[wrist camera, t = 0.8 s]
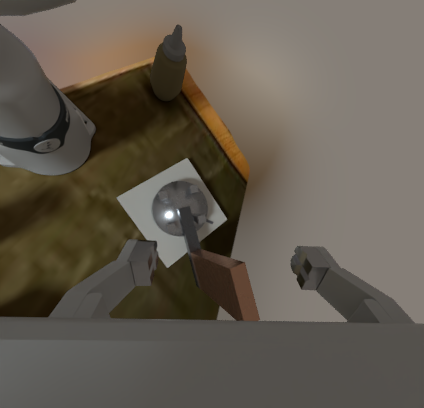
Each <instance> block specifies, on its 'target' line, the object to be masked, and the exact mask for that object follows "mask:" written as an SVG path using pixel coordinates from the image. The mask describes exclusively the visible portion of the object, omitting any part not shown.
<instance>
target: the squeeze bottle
mask: <svg viewBox="0 0 424 408" xmlns="http://www.w3.org/2000/svg"><path fill="white" fill-rule="evenodd" d="M185 52H186V47H185V45H184V43H183V42H182V27H181V26H180V25H176V27H175V29H174V32H173V34H172V35H167V36H166V37H165V38H164V41H163V43H162V44H160V45H159V47H158V49H157V52H156V56H155V59H154V63H153V67H152V70H151V74H150V82H151V85H152V88H153V91H154V93H155V95H156V96H157V97H158V98H159V99H161V100H162V101H171V100H172V99H173V98H175V97H176V96H177V95H178V94H179V93H180V91H181V88H182V83H183V78H184V74H185V69H186V64H187V59H186V56H185Z"/></svg>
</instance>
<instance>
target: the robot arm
mask: <svg viewBox="0 0 424 408" xmlns="http://www.w3.org/2000/svg"><path fill="white" fill-rule="evenodd" d="M75 1H76V0H0V16H25V15H29V14H33V13H38V12H42V11H46V10H50V9H54V8H57V7H60V6H63V5H67V4H70V3H73V2H75ZM85 122H87V124H85ZM95 131H96V127H95V125H94V124H93V123H92V122H91V121H90V120H89V119H88V118H87V117H86V116H85V115H84V114H83V113H82V112H81V111H80V110H79V109H78V108H77V107H76V106H75V105H74V104H73V103H72V102H71V101H70V100H69V99H68V98H67V97H66V96H65V95H64V94H63V93H62V92H61V91H60V90H59V89H58V88H57V87H56V86H55V85H54V84H53V83H52V82H51V81H50V80H49V79H48V78H47V77H46V75H45V73H44V72H43V70H42V68H41V66H40V64H39V63H38V61H37V59H36V57H35V56H34V54H33V53H32V52H31V50H30V49H29V48H28V47H27V46H26V45H25V44H24V43H23V42H22V41H21V40H20V39H19V38H17V37H16V36H15V35H14V34H13V33H11V32H10V31H9V30H8V29H6V28H5V27H4V26H2V25H1V24H0V165H2V166H6V167H20V168H23V169H26V170H29V171H32V172H34V173H38V174H43V175H60V174H65V173H68V172H71V171H73V170H75V169H77V168H78V167H80V166H81V165H82V164H83V163H84V162H85V161H86V159H87V158H88V156H89V153H90V149H91V138H92V137H93V135H94V133H95ZM156 249H157V241H152V240H133V239H129V240H128V241H127V242H126V244H125V246H124V248H123V250H122V251H121V253H120V255H119V257H118V259H117V260H116V261H113V262H111V263H109V264H108V265H106V266H105V267H103V268H102V269H100V270H99V271H97V272H96V273H94V274H93V275H91V276H90V277H88V278H87V279H85V280H83V281H82V282H80V283H79V284H77V285H76V286H74V287H73V288H71V289H70V290H68V291H67V292H66V293H65V295H64V296H63V298H62V299H61V300H60V302H59V303H58V304H57V306H56V307H55V309H54V310H53V311H52V313H51V314H50V316H49V317H0V408H424V324H415V323H414V322H413V321H412V320H411V318H410V317H409V316H408V315H407V314H406V313H405V312H404V311H403V310H402V308H401V307H400V306H399V305H398V304H397V303H396V302H395V301H394V300H393V299H392V298H390V297H389V296H387V295H385V294H384V293H382V292H380V291H379V290H377V289H376V288H374V287H373V286H371V285H369V284H368V283H366V282H364V281H363V280H361V279H360V278H358V277H357V276H355V275H353V274H352V273H350V272H348V271H347V270H345V269H343V268H342V269H341V268H340V267H339V265H338V264H337V263H336V261H335V260H334V259H333V257H332V256H331V255H330V254H329V252H328V251H327V250H326V249H325V248H324V247H308V246H297V247H296V249H295V253H296V254H295V255H294V256H292V259H291V268H292V271H293V273H294V274H296V275H297V281H298V283H299V285H300V287H301V289H302V290H317V292H318V293H319V294H320V295H321V296H322V297H323V298H324V299H325V300H326V301H327V302H328V303H330V304H331V305H332V306H333V307H334V308H335V309H336V310H337V311H338V312H339V313H340V314H341V315H342V316H343V317H344V318H346V319H347V320H348V321H347V322H289V321H288V322H287V321H283V322H282V321H228V320H227V321H226V320H225V321H224V320H169V319H111V318H110V315H109V312H110V311H111V310H112V309H113V308H114V307H115V306H116V305H117V304H118V303H119V302H120V301H121V300H122V299H123V298H124V297H125V296H126V295H127V294H128V293H129V292H130V291H131V290H132V289H133V288H134V287H135V286H151V285H152V281H153V278H154V270H155V269H156V268H157V265H158V251H157V250H156Z"/></svg>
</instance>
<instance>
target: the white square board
mask: <svg viewBox="0 0 424 408" xmlns="http://www.w3.org/2000/svg"><path fill="white" fill-rule="evenodd" d="M174 181H186V182H189V183H192V184H194V185H196V184H197V187H198V188H199V189H200V190H201V191H202V192H203V194H204V196H205V198H206V200H207V204H208V214H207V218H206V221H207V222H205V223H204V224H203V226H202V227H201V228H200V229H199V230H198V231H197V236H198V239H199V242H200V241H201V240H203V239H204V238H205V237H206V236H208V235H209V234H210V233H211V232H212V231H214V230H215V229H216V228H217V227H219V226H220V225H221V224H222V223H224V222H225V221H226V220H227V218H226V217H225V215H224V213H223V212H222V210H221V209H220V207H219V206H218V204H217V203H216V201H215V200H214V198H213V197H212V195H211V193H210V192H209V190H208V189H207V187H206V186H205V184H204V183H203V181H202V180H201V178H200V176H199V175H198V173H197V172H196V170H195V169H194V167H193V166H192V164H191V163H190V161H189V160H188V158H186V159H184V160H183V161H181V162H179V163H177V164H175V165H174V166H172V167H170V168H168V169H167V170H165V171H163V172H161V173H159V174H158V175H156V176H154V177H152V178H151V179H149V180H147V181H145V182H143V183H142V184H140V185H138V186H136V187H135V188H133V189H131V190H129V191H127V192H126V193H124V194H122V195H120V196H119V197H117V200H118V201H119V202H120V204H121V205H122V206H123V208H124V209H125V211H126V212H127V213H128V215H129V216H130V217H131V219H132V220H133V222H134V223H135V224H136V226H137V227H138V228H139V230H140V231H141V232H142V234H143V235H144V237H145V238H146V239H147V240H152V241H157V249H156V250H157V251H158V256H159V257H160V259H161V260H162V261H163V263H164V264H165V265H166V267H167V268H168V267H169V266H171V265H172V264H173V263H174V262H176V261H177V260H178V259H179V258H181V257H182V256H183V255H184V254H185V253H187V252H188V251H187V247H186V243H185V240H184V236H182V237H180V236H173V235H169V234H166V233H164V232H163V231H161V230H160V229H159V228H158V227H157V226H156V224H155V223H154V221H153V218H152V214H151V205H152V201H153V199H154V197H155V195H156V194H157V193H158V191H159V190H160V189H161V188H162V187H163V186H165V185H166V184H168V183H170V182H174Z"/></svg>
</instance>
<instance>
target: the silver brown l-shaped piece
mask: <svg viewBox="0 0 424 408" xmlns="http://www.w3.org/2000/svg"><path fill="white" fill-rule="evenodd" d="M151 214H152V218H153V221H154V223H155V224H156V226H157V227H158V228H159V229H160V230H161V231H163V232H164V233H166V234H169V235H173V236H180V237H182V236H184V240H185V243H186V247H187V251H188V255H189V259H190V262H191V266H192V270H193V274H194V278H195V282H196V285H197V287H198V288H200V289H201V290H202V291H204V292H205V293H206V294H207V295H208V296H209V297H210V298H212V299H213V300H214V301H215V302H216V303H217V304H218V305H220V306H221V307H222V308H223V309H224V310H225V311H227V312H228V313H229V314H230V315H231V316H232V317H233V318H234V319H236V320H237V321H258V320H260V318H259V314H258V310H257V307H256V303H255V299H254V296H253V292H252V288H251V285H250V281H249V277H248V273H247V269H246V265H245V262H241V261H238V260H235V259H232V258H228V257H225V256H222V255H218V254H215V253H212V252H208V251H205V250H202V249H201V247H200V243H199V239H198V236H197V231H198V230H199V229H200V228H201V227H202V226H203V224H204V223H205V222H207V221H206V218H207V214H208V204H207V200H206V198H205V196H204V194H203V192H202V191H201V190H200V189H199V188H198V187H197V184H196V185H194V184H192V183H189V182H186V181H174V182H170V183H168V184H166V185H165V186H163V187H162V188H161V189H160V190H159V191H158V193H157V194H156V195H155V197H154V199H153V201H152V205H151Z"/></svg>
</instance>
